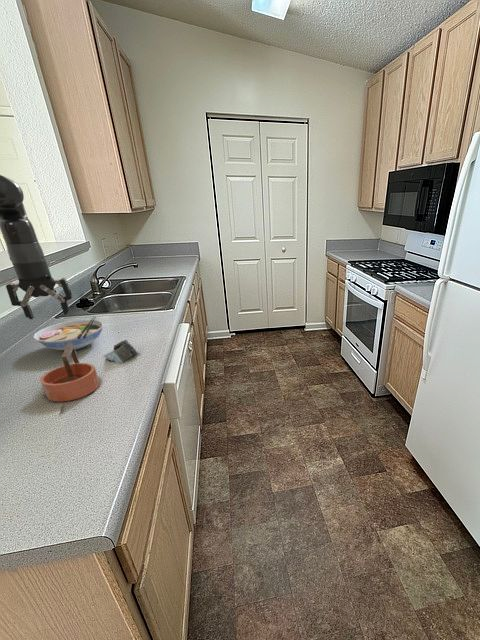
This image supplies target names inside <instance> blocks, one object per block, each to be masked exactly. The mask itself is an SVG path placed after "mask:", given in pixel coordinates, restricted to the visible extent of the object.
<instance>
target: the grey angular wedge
mask: <svg viewBox="0 0 480 640" xmlns="http://www.w3.org/2000/svg"><path fill="white" fill-rule="evenodd" d="M113 350H114V351H112V352H111V353H109V354H108V355H107V356H106V357H105V358H106V359H108V362H110V363H111V362H115V363H116V364H120V363H121V364H123V363H126V361H128V359H130V358H131V357H138V356H139V353H138V352H137V350H136V349H135V348H134V346H133V345H131V343H129V341H128V340H127V339H124V340H121V341H119V342H118V343H116V344H114V345H113Z"/></svg>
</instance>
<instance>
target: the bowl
mask: <svg viewBox="0 0 480 640" xmlns="http://www.w3.org/2000/svg"><path fill="white" fill-rule="evenodd" d="M70 366H71V369H72V372H73V375H74V376H73V377H80V378H79V379H77V380H74V381H70V382H66V383H62V381H63V380H65V379H68V378H71V377H68V374H67V371H66V368H65V366H64V365H61V366H59V367H56V368H53V369H50V370H49V371H47V372H46V373H44V374H43V375H42V376H41V377H40V380H39V382H40V384H41V386H42V389H43V391H44V393H45V397H46V398H47V399H48V400H49V401H51V402H60V403H61V402H70V401H75V400H78V399H82V398H84V397H86V396H88V395H90V394H91V393H93V392H94V391H96V390H97V389H98V388H99V386H100V379H99V376H98V373H97V370H96V367H95V365H93V364H91V363H88V362H80V363H74V362H73V363H70Z"/></svg>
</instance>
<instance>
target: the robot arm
mask: <svg viewBox="0 0 480 640" xmlns="http://www.w3.org/2000/svg"><path fill="white" fill-rule="evenodd" d="M24 198H25V195H24V191H23V189H22V188H21V186H20V185H19V184H18V183H17V182H16V181H14V180H13V179H11V178H9V177H7V176H4V175H2V174H0V232H1V235H2V237H3V241H4V243H5V246H6V250H7V254H8V256H9V260H10V262H11V264H12V266H13V269H14V271H15V275H16V277H17V281H18V283H13V282H8V283H7V284H6V285H5V288H6V291H7V295H8V297H9V300H10V303H11V305H12V306H13V307H20V308H22V310H23V313H24V316H25V317H26V318H27V319H29V320H34V319H35V316H34V313H33V311H32V307H31V305H30V304H29V302H30V300H31V298H39V297H48V296H51V297H53V298H54V299H56V300H58V301H59V302H60V303H59V304H60V306H61V310H62V312H63V315H64V316H66V315H68V314H69V312H70V307H69V304H68V301H70V300H72V298H73V293H72V290H71V288H70V286H69V283H68V280H67V278H66V277H61V278H59V279H54V277H53V276H52V274H51V271H50V268H49V265H48V262H47V259H46V256H45V254H44V250H43V248H42V246H41V245H40V242H39V240H38V237H37V233H36V230H35V228H34V226H33V223H32V222H31V221H30V219H29V217H28V214H27V211H26V208H25V206H24V203H23V202H24ZM56 285H57V286H59V287H60V288H62V290H63V292H64V294H62V293H61V292H60V291H58V290H57V289H55V286H56ZM19 289H20V290H21V291H23V292H24V293H25V294H24V295H23V297H22V300H19V295H18V293H17V291H18V290H19Z"/></svg>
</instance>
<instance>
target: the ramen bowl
mask: <svg viewBox="0 0 480 640" xmlns="http://www.w3.org/2000/svg"><path fill="white" fill-rule="evenodd" d="M103 328H104V322H103V321H100V320H97V319H96V317H95V316H93V317H92V318H91V319H75V320H70V321H63V322H60V323H55V324H52V325H49V326H45V327H44V328H40V330H38V331H37V332H35V333H34V335H33V339H34V340H35V341H37V342H38V343H39V344H41V345H43V346H44V347H46V348H48V349H51V350H56V351H64V350H65V348H66V346H67V343H68V342H70V341H72V342H73V345H74V348H75V351H78V350H81V349H83V348H85V347H86V346H89V345H90V344H92V343H94V342H95V341H96V340H98V338H99V337H100V335H101V334H102V331H103Z"/></svg>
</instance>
